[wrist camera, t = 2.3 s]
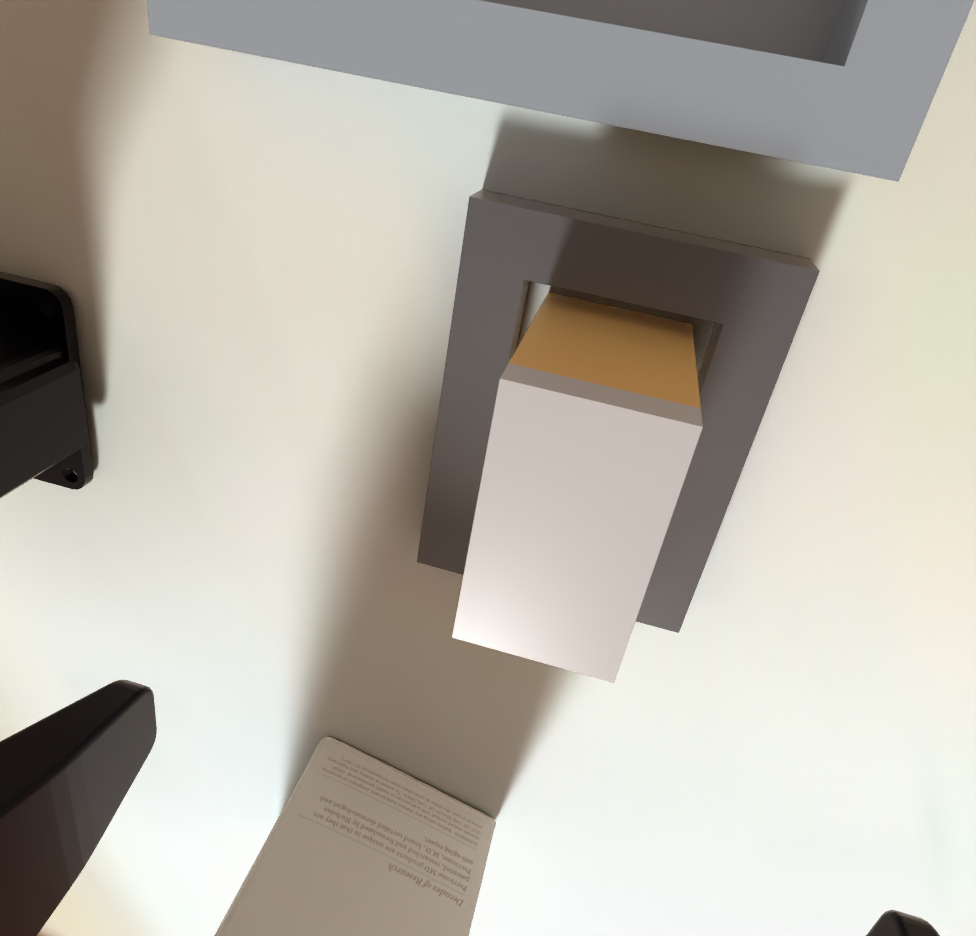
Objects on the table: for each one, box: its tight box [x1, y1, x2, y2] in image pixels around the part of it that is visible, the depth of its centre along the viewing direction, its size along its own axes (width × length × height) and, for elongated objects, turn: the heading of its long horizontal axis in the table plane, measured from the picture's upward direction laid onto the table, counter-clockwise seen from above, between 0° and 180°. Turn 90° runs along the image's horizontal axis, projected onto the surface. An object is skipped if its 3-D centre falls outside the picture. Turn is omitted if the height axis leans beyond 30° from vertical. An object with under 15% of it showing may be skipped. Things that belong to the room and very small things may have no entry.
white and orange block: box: [452, 292, 703, 683], centre depth 16 cm, size 4×6×6 cm, turn 172°
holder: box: [417, 190, 819, 633], centre depth 18 cm, size 8×10×1 cm
